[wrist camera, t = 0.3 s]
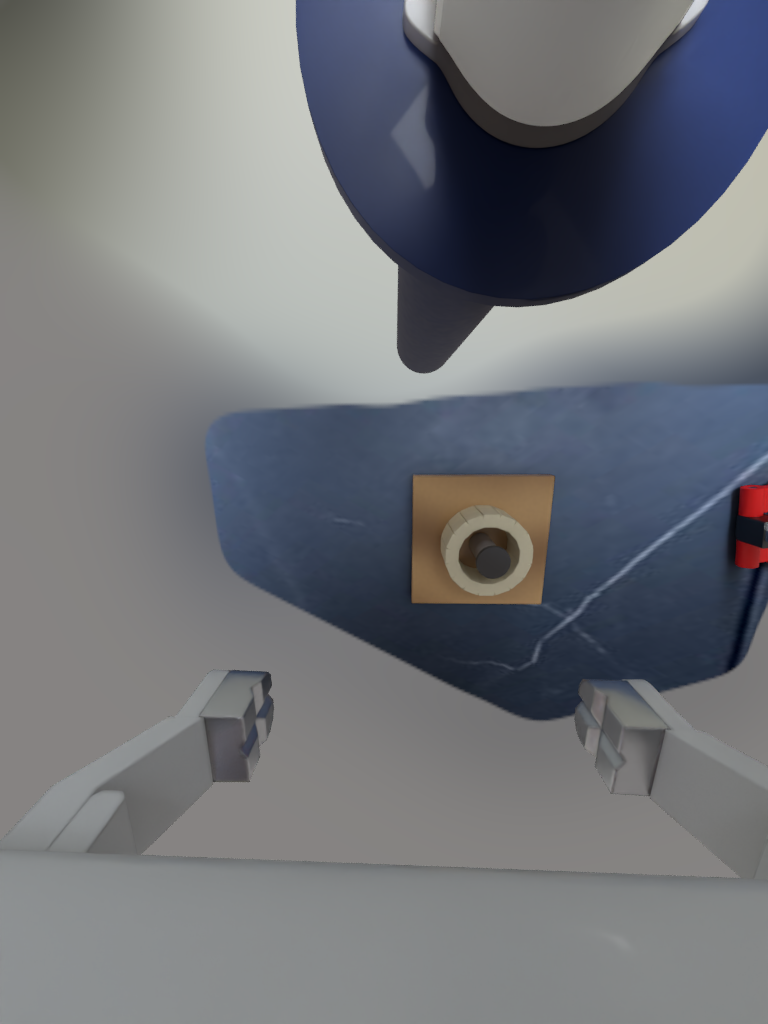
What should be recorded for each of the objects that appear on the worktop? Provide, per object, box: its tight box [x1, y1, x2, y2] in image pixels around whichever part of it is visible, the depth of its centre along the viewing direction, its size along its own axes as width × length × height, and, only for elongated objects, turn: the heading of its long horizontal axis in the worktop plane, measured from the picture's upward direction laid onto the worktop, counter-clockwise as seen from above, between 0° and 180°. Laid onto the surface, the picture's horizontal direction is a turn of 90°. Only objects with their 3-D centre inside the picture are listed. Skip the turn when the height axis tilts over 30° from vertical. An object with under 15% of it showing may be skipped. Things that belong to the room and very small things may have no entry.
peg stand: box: [411, 474, 555, 604], centre depth 28 cm, size 11×11×5 cm
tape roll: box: [441, 505, 533, 596], centre depth 28 cm, size 6×6×3 cm
